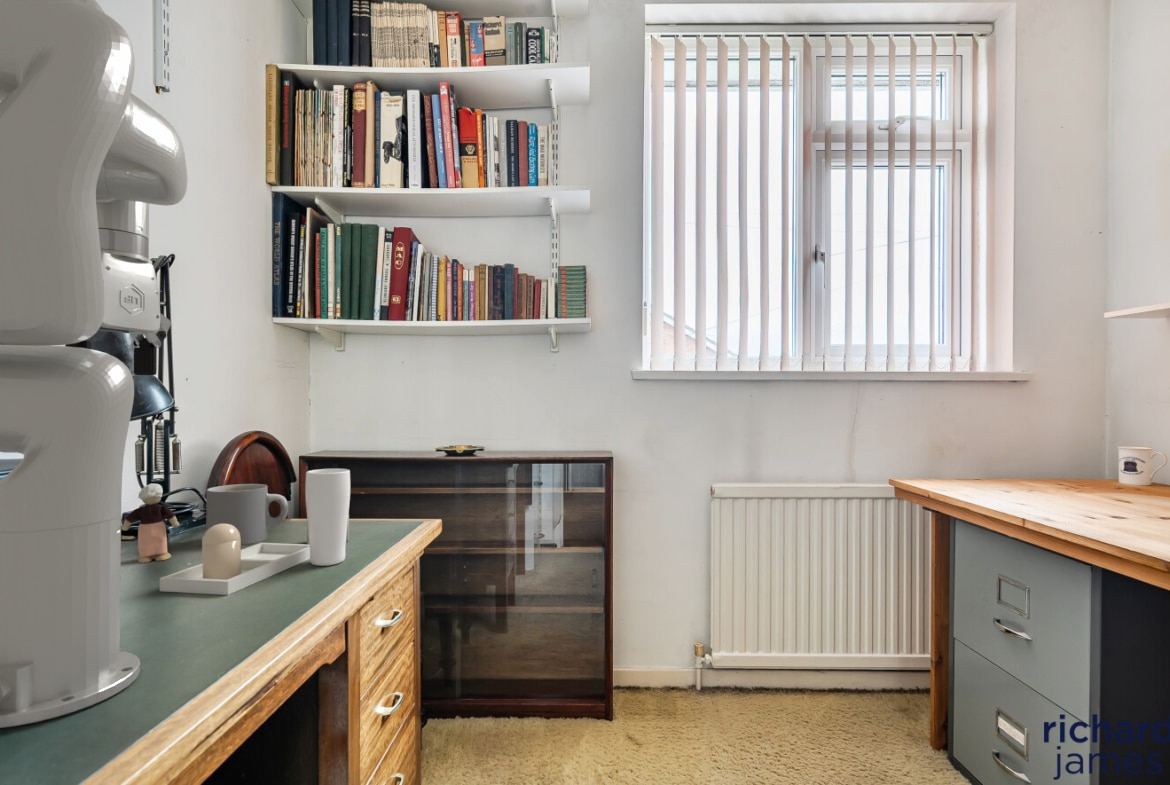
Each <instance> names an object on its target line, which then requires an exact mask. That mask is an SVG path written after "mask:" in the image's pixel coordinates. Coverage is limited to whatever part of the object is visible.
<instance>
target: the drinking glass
mask: <svg viewBox="0 0 1170 785" xmlns="http://www.w3.org/2000/svg"><path fill="white" fill-rule="evenodd" d="M304 484H305V491H304V493H305V508H306V520H307V521H308V533H309V544H308V545H310V559H309V563H310V564H312V565H313V566H317V567H323V566H324V567H327V566H329V567H330V566H335V565H337V564H340V563H342V562H344V561H345V559H346V546H347V545H346V544H347V542H346V535H347V524H348V514H349V513H350V501H351V470H350V469H347V468H321V469H320V468H319V469H312V470H308V471H306V472H305V483H304ZM349 515H350V514H349ZM307 521H306V522H307Z"/></svg>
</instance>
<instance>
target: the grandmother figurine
mask: <svg viewBox="0 0 1170 785" xmlns="http://www.w3.org/2000/svg"><path fill="white" fill-rule="evenodd" d="M163 492H164V491H163V486H162V485H161V484H159V483H149V484H146V485H145V486H144V487H142V488H141V490H140V492H138V497H137V498H138V499H140V500H141V501H142V503H144V504H145V505H144V506H143V505H142V506H139V507H137V508H135V509H134V510H132V511H131V512H129V513H128V514H127V515H126V516H125V517H124V519H125V520H124V521H123V524H121V531H126V532H127V531H128V530H129V529H130V526H131V525H132V524H133V523H136V522H139V521H140V522H139V525H138V530H137V548H138V549H137V550H138V557H139V558H138V559H137V562H138V563H140V564H143V563H144V564H145V563H149V562H152V561H153V559H154V558H153V556H154V555H157V556H156V557H155V559H154V560H155V561H159V562H160V561H166V560H168V559H171V558H172V555H171V554H170V553H169V552H168V540H167V530H166V523H165V521H164V518H165V519H167V520H168V522H169V523H170V525H171V527H172V528H178V527H179V526H180V522H179V521H178V519H177V517H176V514H175V513H174V512H173V511H172V510H171V508H169V507H168V506H166V505H164V504H158V503H160V501H161V499H162V497H163V494H164V493H163Z"/></svg>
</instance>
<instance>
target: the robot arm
mask: <svg viewBox="0 0 1170 785" xmlns="http://www.w3.org/2000/svg"><path fill="white" fill-rule="evenodd" d="M134 77H135V52H134V47H133V44H132V40H131V38H130V37H129V35H128V32H127V31H126V30H125V29H124V27H123V26H122V25H121V24H120V23H118V21H116V20H115V19H114V18H113V17H111V16H109V15H108V14H106V13H105V11H104V9H103V8H102V7H101V5H100V4H99V3H98V2H97V1H96V0H0V453H4V454H5V453H12V454H13V453H17V454H21V455H23V458H22V460H21V461H20V462H19V463H18V464H17V465H16V466H15V467H14V468H13V469H12V470H11V471H9V473H8V474H5V476H4V477H3V478H1V480H0V729H2V728H3V729H4V728H11V727H19V726H23V725H28V724H33V723H34V724H35V723H39V722H43V721H47V720H51V719H55V718H58V717H61V716H64V715H65V716H66V715H67V714H72V713H74V712H78V711H80V710H82V709H85V708H89V707H91V706H93V705H95V704H98V703H101V702H102V701H105V700H107V699H109V698H110V697H113V696H115V695H117V694H118V693H120V692H122V691H124V689H126V688H127V687H129V686H130V684H132V683H133V682H134V681H135V680H137V678H138V676H140V673H141V672H140V671H141V660H140V657H138V656H137V655H136V654H134V653H131V652H129V651H122V650H121V579H122V578H121V577H122V576H121V572H122V570H121V569H122V568H121V567H122V565H121V564H122V562H121V560H122V558H121V556H122V537H121V536H122V529H121V527H122V491H123V490H122V489H123V488H122V487H123V468H124V456H125V451H126V442H127V438H128V437H127V436H128V432H129V428H130V427H129V426H130V421H131V416H132V412H133V407H134V406H133V405H134V398H135V382H134V381H135V380H134V377H133V374H134V375H135V376H155V375H157V367H158V366H157V363H158V361H157V360H158V358H157V356H158V355H157V353H158V351H157V350H158V349H159V348H161V346H162V342H163V341H164V340H165V339H166V338H167V333H168V332H169V329H170V327H171V325H172V321H171V320H170V319H169V318H167V317H166V316H165V315H164V314H163V313H161V304H160V293H159V286H158V285H159V284H158V279H157V274H156V270H155V267H154V264H150V263H149V259H150V258H149V257H150V256H149V254H150V253H149V252H150V250H149V249H150V247H149V245H150V242H149V241H150V240H149V239H150V205H156V206H164V207H165V206H167V207H168V206H174V205H177V204H179V203H180V202H181V201H182V200H183V199H184V197H185V196H186V192H187V189H188V171H187V163H186V158H185V157H186V156H185V150H184V146H183V142H182V141H181V138H180V136H179V134H178V132H177V130H176V128H175V127H174V126H173V125H172V124H171V123H170V122H169V121H168V120H167V119H166V118H165V117H164V116H163V115H161V114H160V113H159V112H158V111H156V110H155V109H153V107H151V106H150V105H148V104H147V103H146V102H145V101H144V100H143V99H141V98H139V97H137V96H136V95H135V94H133V93H132V88H133V83H134ZM98 331H101V332H102V331H103V332H108V333H109V332H111V333H118V334H119V333H120V334H129V335H130V336H131V338H132V339H133V340H134V341H135V343H136V344H137V346H138V347H134V348H133V374H132V372H131V370H130V369H129V368H128V366H127V365H126V364H125V363H124V362H123V361H121V360H120V359H119V358H117V357H116V356H113V355H111V354H109V353H108V352H103V351H101V350H100V351H99V350H97V349H92V342H91V340H89V339H90V338H92V337H94V335H96V334H97V333H98Z"/></svg>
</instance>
